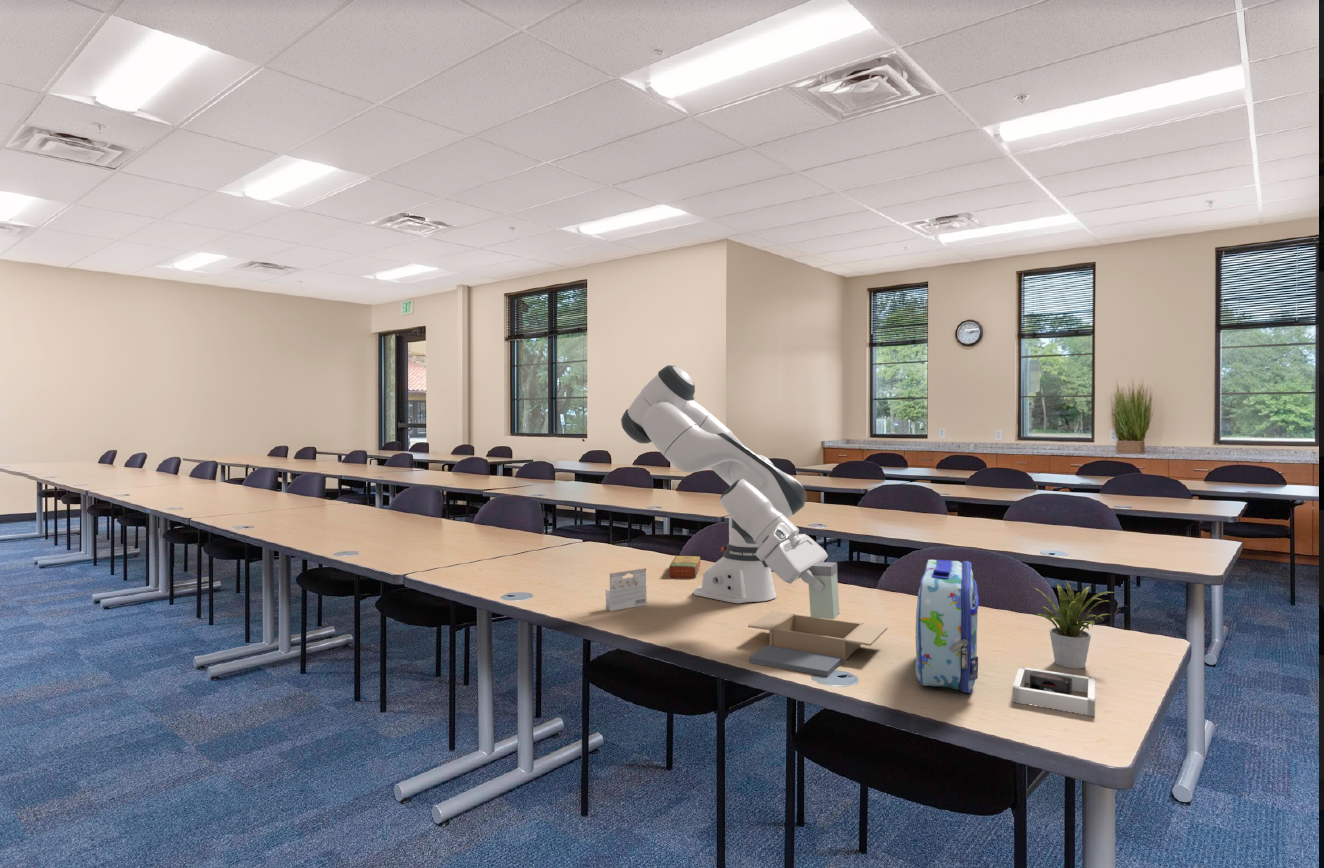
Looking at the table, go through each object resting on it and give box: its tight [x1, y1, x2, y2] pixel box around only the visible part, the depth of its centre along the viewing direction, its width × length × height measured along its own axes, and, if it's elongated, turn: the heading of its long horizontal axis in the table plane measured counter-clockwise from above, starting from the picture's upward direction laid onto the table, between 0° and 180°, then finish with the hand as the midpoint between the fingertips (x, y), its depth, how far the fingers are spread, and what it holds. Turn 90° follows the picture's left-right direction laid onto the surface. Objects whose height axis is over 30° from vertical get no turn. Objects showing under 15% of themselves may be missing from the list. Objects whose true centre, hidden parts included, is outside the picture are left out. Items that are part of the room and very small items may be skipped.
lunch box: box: [915, 559, 980, 694], centre depth 137 cm, size 26×11×21 cm, turn 157°
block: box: [808, 561, 841, 620], centre depth 155 cm, size 5×4×11 cm
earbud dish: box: [1011, 666, 1096, 717], centre depth 126 cm, size 12×12×2 cm
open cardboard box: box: [747, 610, 888, 661], centre depth 156 cm, size 26×14×4 cm, turn 59°
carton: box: [668, 555, 701, 579], centre depth 229 cm, size 8×16×4 cm, turn 172°
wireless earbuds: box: [1024, 671, 1073, 695], centre depth 127 cm, size 5×7×3 cm, turn 52°
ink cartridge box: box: [604, 567, 648, 612], centre depth 188 cm, size 2×11×10 cm, turn 123°
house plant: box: [1032, 580, 1114, 670], centre depth 141 cm, size 14×14×16 cm
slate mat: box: [748, 644, 843, 677], centre depth 145 cm, size 16×9×1 cm, turn 59°
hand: (826, 585), depth 154 cm, fingers closed on block, 4 cm apart
